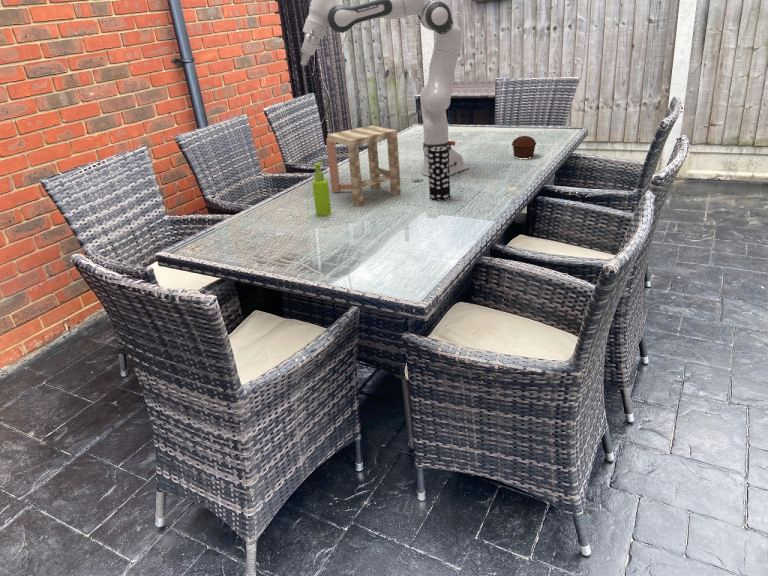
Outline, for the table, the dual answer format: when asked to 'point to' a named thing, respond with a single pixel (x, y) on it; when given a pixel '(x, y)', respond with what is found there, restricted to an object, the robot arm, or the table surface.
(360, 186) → the stool
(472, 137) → the table surface
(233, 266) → the table surface
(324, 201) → the soap dispenser
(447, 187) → the spotted tube
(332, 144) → the hinged leg
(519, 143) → the muffin
